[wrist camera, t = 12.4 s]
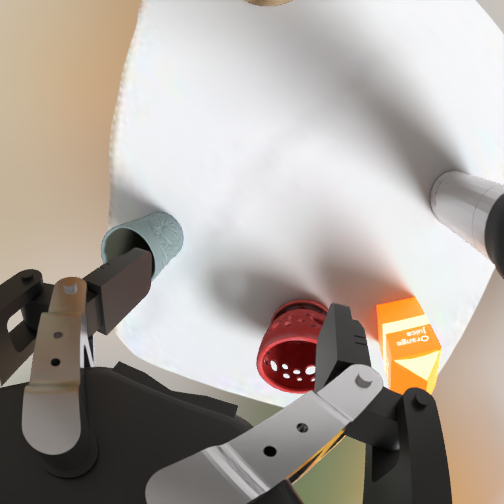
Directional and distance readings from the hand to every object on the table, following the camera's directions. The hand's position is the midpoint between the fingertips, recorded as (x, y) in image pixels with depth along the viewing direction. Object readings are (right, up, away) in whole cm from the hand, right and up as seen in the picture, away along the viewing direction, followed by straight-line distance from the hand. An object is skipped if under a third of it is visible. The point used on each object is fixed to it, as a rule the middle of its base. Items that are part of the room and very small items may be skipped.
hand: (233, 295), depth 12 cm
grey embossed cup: (-15, +5, +38) cm, 42 cm away
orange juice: (+27, -11, +35) cm, 46 cm away
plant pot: (+10, -11, +39) cm, 42 cm away
